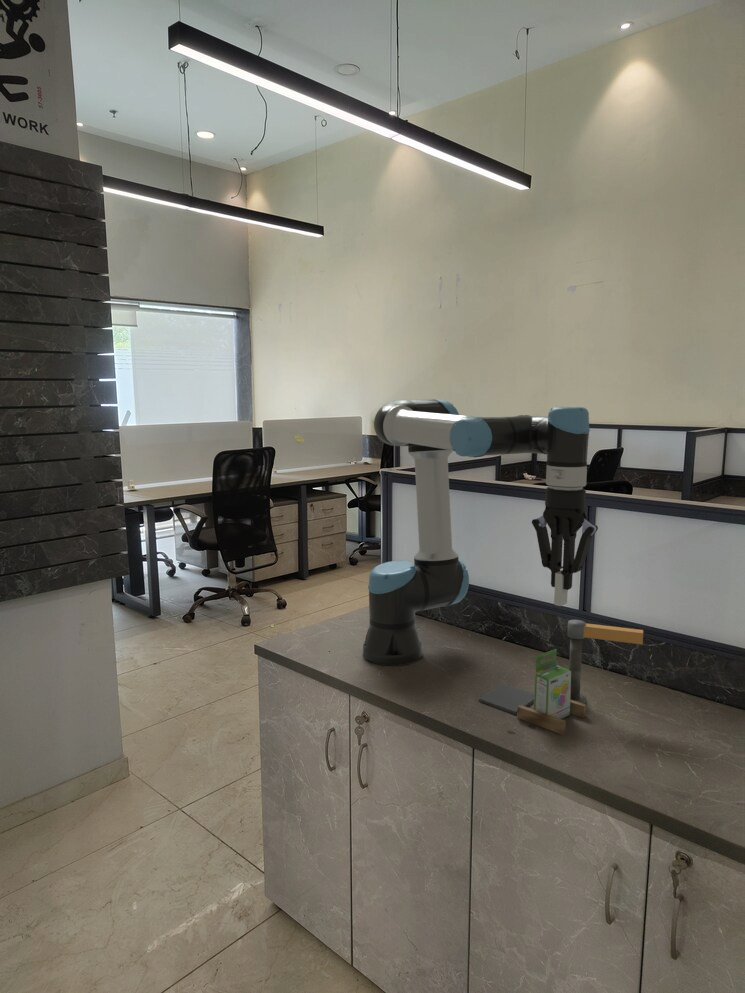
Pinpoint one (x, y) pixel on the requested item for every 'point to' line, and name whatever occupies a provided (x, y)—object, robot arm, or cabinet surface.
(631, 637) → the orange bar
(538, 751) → the cabinet surface
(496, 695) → the pad
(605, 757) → the cabinet surface
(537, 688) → the ink box
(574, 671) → the dock
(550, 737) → the cabinet surface
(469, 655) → the cabinet surface
